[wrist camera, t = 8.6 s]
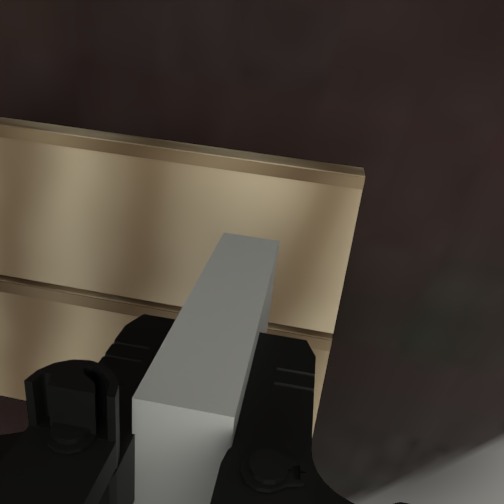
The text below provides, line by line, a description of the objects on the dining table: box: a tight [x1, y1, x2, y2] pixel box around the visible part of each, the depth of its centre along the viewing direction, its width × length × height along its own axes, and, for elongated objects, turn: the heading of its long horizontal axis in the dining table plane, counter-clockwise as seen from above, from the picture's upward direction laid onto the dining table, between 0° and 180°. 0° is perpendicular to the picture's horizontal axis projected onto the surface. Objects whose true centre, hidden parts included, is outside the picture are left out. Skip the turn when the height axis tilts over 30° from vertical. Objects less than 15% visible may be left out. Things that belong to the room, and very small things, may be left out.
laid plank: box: [0, 275, 332, 436], centre depth 26 cm, size 20×8×2 cm, turn 84°
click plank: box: [0, 117, 365, 334], centre depth 23 cm, size 20×8×2 cm, turn 84°
